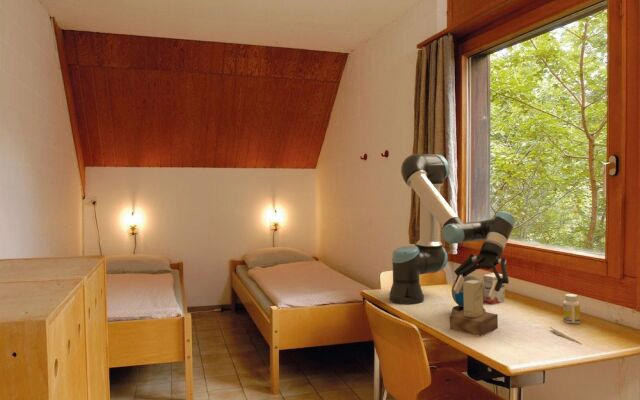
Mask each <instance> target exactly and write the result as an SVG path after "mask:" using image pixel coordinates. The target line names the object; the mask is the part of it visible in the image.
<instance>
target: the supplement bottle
mask: <svg viewBox="0 0 640 400" xmlns="http://www.w3.org/2000/svg"><path fill="white" fill-rule="evenodd" d="M564 299H565V300H563V302H562V303H563V304H562V309H563V310H562V311H563V312H562V314H563V315H562V317H563V321H564V322H565V323H568V324H579V323H580V322H581V317H580V316H581V312H580V311H581V307H580V302H579V301H578V295H577V294H574V293H573V294H572V293H567V294H566V293H565V295H564Z"/></svg>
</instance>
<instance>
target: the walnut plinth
mask: <svg viewBox="0 0 640 400" xmlns="http://www.w3.org/2000/svg"><path fill="white" fill-rule="evenodd" d="M498 323H499V320H498V314H497V313H494V312H493V313H491V312H488V311H486V312H483V315H481V316H478V317H475V318H473V317H468V316H464V310H462V311H459V312H457V313H454V314H450V315H449V330H452V331H456V332H461V333H465V334H468V333H469V334H468V335H472V336H477V335H478V337H483V336H485V335H487V334H489V333H491V332H493V331H495V330H497V329H498V328H499V327H498V326H499V325H498ZM482 335H483V336H482Z"/></svg>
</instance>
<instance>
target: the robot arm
mask: <svg viewBox="0 0 640 400" xmlns="http://www.w3.org/2000/svg"><path fill="white" fill-rule="evenodd" d="M449 165H450V164H449V162H448V160H447V159H446V158H445V157H444V155H441V154H435V153H425V154H424V153H421V154H419V153H413V154H410V155H409V156H406V157H405V158H404V160H403V161H402V163H401V167H400V173H401V177H402V179H403V181H404V182H405V184H406V185H407V186H408V188H411V189H412V190H414V192H415V193H416V194H417V195H418V197H419V198H420V199H419V202H420V203H419V204H420V205H419V239H418V241H417V242H416V245H415V246H414V245H407V246H406V245H405V246H400V247H397V248H395V249H394V250H393V251H392V259H391V261H392V285H391V287H390V292H389V295H388V296H389V298H388V299H389V301H390V302H392V303H393V304H394V303H395V304H400V305H402V304H403V305H414V304H420V303H422V302H424V300H425V299H424V297H425V295H424V293H423V289H422V286H421V284H420V275H425V274H434V273H437V272H440V271H443V270H444V268H445V267H446V265H447V263H448V252H447V251H446V249H445V248H444V247H443V243H442V242H441V241H440V226H441V228H442V231H441V235H442V238H443V240H444V241H445V242H446V243H448V244H461V243H467V242H468V243H469V242H479V241H483V243H482V246H481V248H480V250H479V253H478V255H477V256H476V255H474V254H473V253H470V254H469V256H468V258H467V259H465V261H463V262H462V264H460V265H459V266H458V267H457V268H456V269H455V270H454V274H455V275H456V276H457V277H456V279H455V280H454V282H455V283H456V285H455V287H454V291H455V292H456V294H458V293H459V291H460V288H461V286H462V284H463V282H464V277H465V276H469V275H470V274H471V273H473V272H475V271H477V270H480V269H483V270H484V269H486V270H492V271H493V272H492V273H494V274H495V276H496V278H497V280H498V281H497V280H495V281H494V283H493V286H492V288H491V290H490V293H489V295H488V296H489V297H490V299H491V300H494V297H495V295H496V292H497V291H498V292H499V290H500V288H501V286H502V284H503V283H505V284H506V285H507V284H509V282H510V281H509V275H508V270H507V265H508V262H507V260H506V258H505V257H502V255H503V253H504V250H505V247H506V246H507V243H508V241H509V238H510V236H511V233H512V231H513V229H514V226H515V223H516V218H515V216H513V214H512V213H510V212H508V211H504V210H500V211H498V212H497V213H496V214H495V215H494V217H493V218H491V219H490V218H489V219H486V220H479V221H469V222H463V221H462V220H461V218H460V217H459V216H458V215H457V213H456V212H455V211H454V209H453V208H452V207H451V206H450V204H449V203H448V202H447V201H446V199H445V198H444V197H443V195H442V194H441V193H440V191H441V187H442V186H443V185H444V180H445V179H447V177H448V175H449V172H450V166H449ZM501 257H502V258H501ZM497 265H500V269H501V274H502V276H503V278H501V277H500V275H499V274H500V273H499V271H498V269H497V268H496V266H497Z"/></svg>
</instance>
